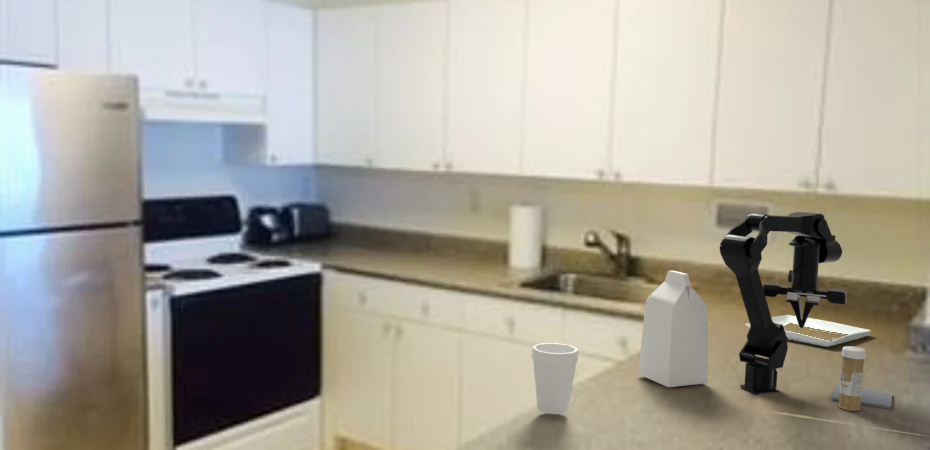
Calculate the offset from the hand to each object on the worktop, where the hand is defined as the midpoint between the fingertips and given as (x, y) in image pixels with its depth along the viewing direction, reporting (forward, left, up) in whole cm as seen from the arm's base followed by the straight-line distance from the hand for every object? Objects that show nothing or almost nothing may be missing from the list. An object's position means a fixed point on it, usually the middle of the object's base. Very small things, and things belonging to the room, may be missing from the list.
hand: (801, 328), depth 201 cm
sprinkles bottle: (-4, -22, -13) cm, 26 cm away
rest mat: (+5, -16, -13) cm, 21 cm away
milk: (-30, +8, -13) cm, 34 cm away
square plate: (+37, +41, -14) cm, 57 cm away
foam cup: (-68, -8, -13) cm, 70 cm away
